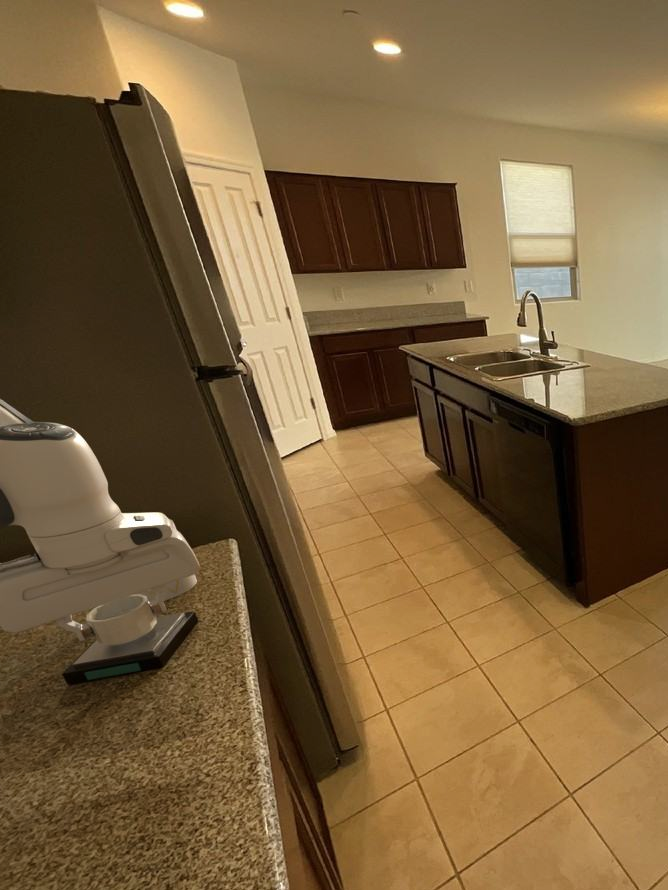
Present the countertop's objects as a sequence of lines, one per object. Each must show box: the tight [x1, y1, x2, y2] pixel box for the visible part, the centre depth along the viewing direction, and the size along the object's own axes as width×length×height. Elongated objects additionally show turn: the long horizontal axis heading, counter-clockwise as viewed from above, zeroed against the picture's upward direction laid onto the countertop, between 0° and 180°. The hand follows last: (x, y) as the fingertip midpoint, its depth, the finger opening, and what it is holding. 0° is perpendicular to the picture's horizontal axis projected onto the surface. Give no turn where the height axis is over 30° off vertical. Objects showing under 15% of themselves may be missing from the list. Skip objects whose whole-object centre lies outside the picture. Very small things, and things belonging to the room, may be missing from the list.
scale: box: [61, 610, 199, 686], centre depth 77 cm, size 11×11×3 cm
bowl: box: [85, 594, 157, 645], centre depth 75 cm, size 6×6×4 cm
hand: (125, 623), depth 76 cm, fingers closed on bowl, 6 cm apart
